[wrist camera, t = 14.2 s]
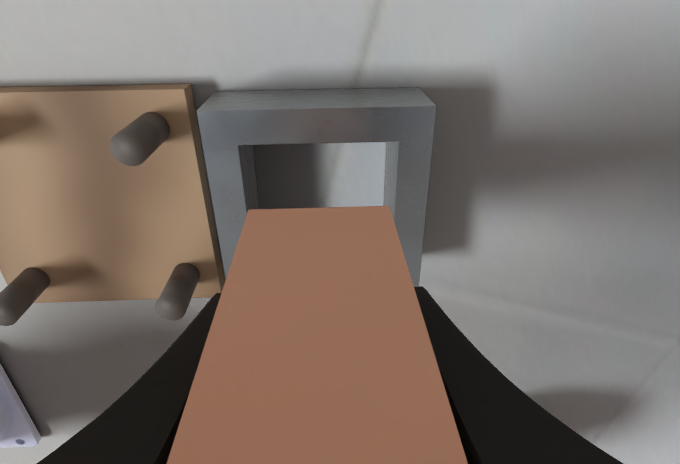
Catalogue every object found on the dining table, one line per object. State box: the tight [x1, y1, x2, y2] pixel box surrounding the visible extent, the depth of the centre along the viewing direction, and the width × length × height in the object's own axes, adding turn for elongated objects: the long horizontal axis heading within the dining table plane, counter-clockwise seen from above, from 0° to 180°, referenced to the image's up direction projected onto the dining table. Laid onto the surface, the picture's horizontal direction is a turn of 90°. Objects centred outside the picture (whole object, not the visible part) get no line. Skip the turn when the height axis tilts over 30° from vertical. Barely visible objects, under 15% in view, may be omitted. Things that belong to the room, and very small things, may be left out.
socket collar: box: [197, 88, 436, 287], centre depth 18 cm, size 8×8×3 cm
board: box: [0, 84, 225, 326], centre depth 18 cm, size 10×10×4 cm
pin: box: [167, 206, 468, 464], centre depth 10 cm, size 4×4×8 cm
